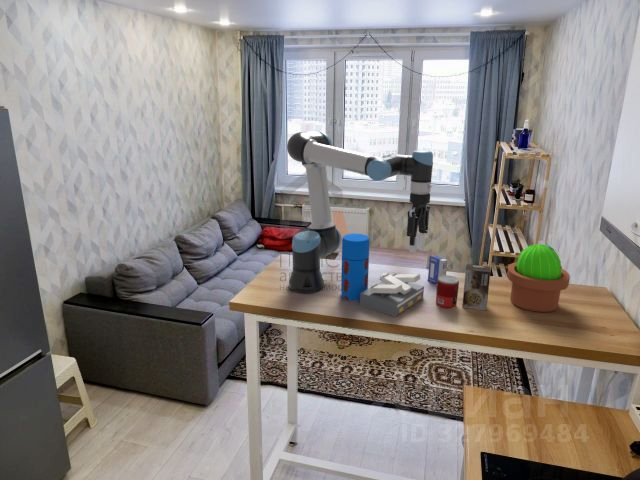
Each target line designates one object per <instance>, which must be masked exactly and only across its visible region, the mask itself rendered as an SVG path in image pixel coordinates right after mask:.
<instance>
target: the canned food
mask: <svg viewBox="0 0 640 480" xmlns="http://www.w3.org/2000/svg"><path fill="white" fill-rule="evenodd" d="M459 284H460V279H459V278H458V277H456V276H452V275H447V274H446V275H443V276H439V277H438V282H437V285H436V293H435V294H436V295H435V303H436V306H438V307H439V308H442V309H454V308H455V307H456V306H457V305H458V294H459V287H460V285H459Z"/></svg>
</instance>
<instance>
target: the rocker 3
mask: <svg viewBox="0 0 640 480" xmlns="http://www.w3.org/2000/svg"><path fill="white" fill-rule="evenodd" d="M391 275H392V276H394V277H395V278H397V279H399V280H400V281H402V282H410V283H416V282H418V281H419V280H421V275H420V273H408V274H407V273H406V274H405V273H401V274H400V273H399V274H397V273H393V274H391Z"/></svg>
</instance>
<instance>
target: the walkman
mask: <svg viewBox="0 0 640 480" xmlns="http://www.w3.org/2000/svg"><path fill="white" fill-rule="evenodd" d="M428 262H429V263H428V273H427V275H428V276H427V281H428V282H430V283H431V284H435V285H436V284H437V282H438V277H439V276H443V275H447V270H448V268H447V266H448V259H446V258H443V257H441V256H438V255H436V254H432V255H430V256H429V261H428Z"/></svg>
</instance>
